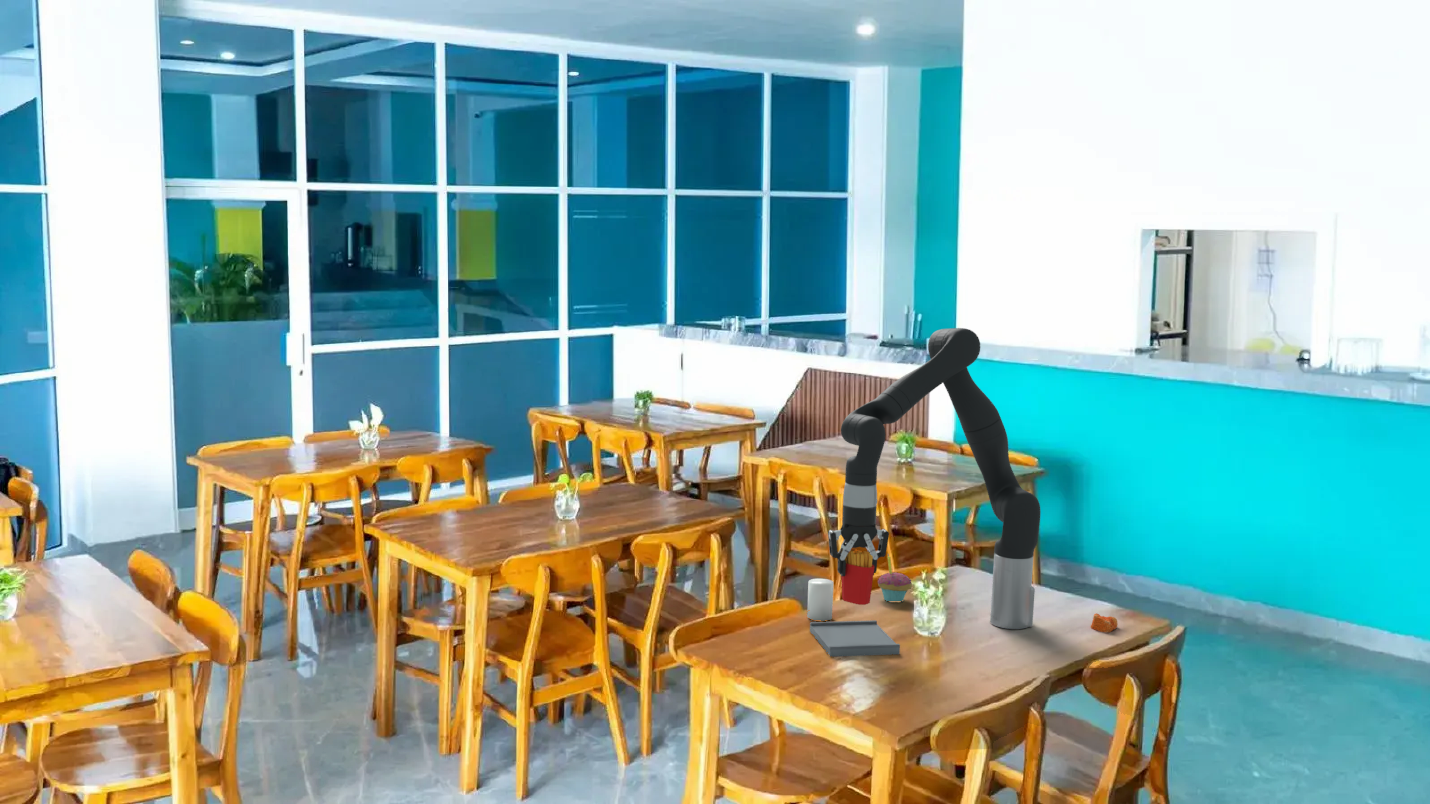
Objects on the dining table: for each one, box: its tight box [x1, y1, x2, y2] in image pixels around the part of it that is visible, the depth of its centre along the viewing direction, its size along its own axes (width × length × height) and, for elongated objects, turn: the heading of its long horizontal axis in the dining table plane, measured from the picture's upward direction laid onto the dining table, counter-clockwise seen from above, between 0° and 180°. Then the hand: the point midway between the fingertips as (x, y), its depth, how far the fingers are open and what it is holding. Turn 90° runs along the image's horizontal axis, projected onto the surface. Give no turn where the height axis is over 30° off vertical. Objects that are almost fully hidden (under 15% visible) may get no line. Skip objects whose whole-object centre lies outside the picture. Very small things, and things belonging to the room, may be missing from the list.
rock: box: [1090, 612, 1119, 633], centre depth 319 cm, size 12×12×4 cm
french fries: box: [840, 548, 875, 606], centre depth 301 cm, size 8×4×12 cm, turn 49°
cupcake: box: [877, 553, 913, 602], centre depth 337 cm, size 9×8×12 cm
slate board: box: [809, 619, 901, 658], centre depth 303 cm, size 16×18×2 cm
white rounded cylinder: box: [806, 578, 834, 621], centre depth 320 cm, size 6×6×9 cm
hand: (856, 574), depth 301 cm, fingers closed on french fries, 6 cm apart
